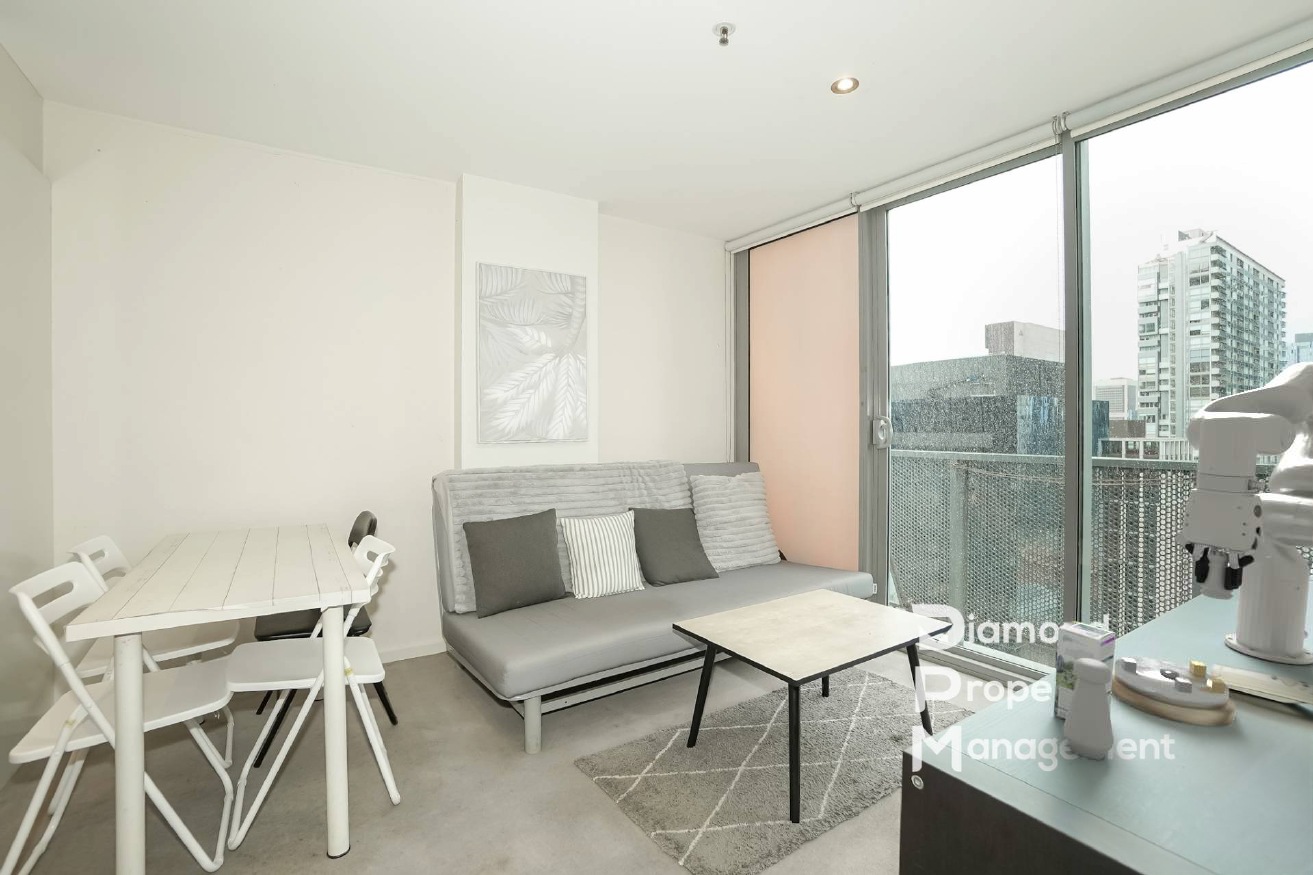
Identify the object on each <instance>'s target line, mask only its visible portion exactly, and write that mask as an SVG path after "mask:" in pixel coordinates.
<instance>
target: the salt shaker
mask: <svg viewBox="0 0 1313 875" xmlns="http://www.w3.org/2000/svg"><path fill="white" fill-rule="evenodd" d="M1074 674H1075V675H1076V676H1077V677H1078V678H1077V682H1076V685H1075V689H1074V692H1073V696H1072V699H1071V703H1070V706H1069V710H1068V713H1067V717H1066V720H1064V725H1063V729H1062V730H1063V734H1064V737H1065V738H1066V742H1068V745H1069V747H1070V749H1071V751H1072V753H1075V754H1077V755H1079V756H1081V757H1083V758H1085V759H1091V760H1100V761H1101V760H1102V759H1103V758H1104V757H1105V756H1106V755H1107V754H1108V753H1109V752H1110V751H1111V750H1112V748H1113V747H1114V734H1113V733H1114V732H1113V729H1112V720H1111V712H1110V713H1109V706H1108V699H1107V692H1106V686H1105V684H1106V683H1109V682H1110V679H1111V670H1110V668H1109V667H1108V666H1107V665H1106V664H1105V663H1103V662H1101V661H1098V660H1094V659H1090V658H1080V659H1077V660H1075V662H1074Z"/></svg>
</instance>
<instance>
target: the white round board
mask: <svg viewBox="0 0 1313 875" xmlns="http://www.w3.org/2000/svg"><path fill="white" fill-rule="evenodd" d="M1113 669H1114V677H1115V678H1116V680H1117V681H1118V682H1119V683H1121V684H1122V685H1123V686H1125V687H1127V688H1128V689H1130V690H1132V691H1134V692H1136V693H1138V694H1141V695H1143V696H1146V697H1148V698H1151V699H1154V700H1157V701H1160V702H1164V703H1168V704H1171V705H1176V706H1180V707H1186V708H1192V709H1201V710H1216V709H1222V708H1224V707H1226V706H1227V705H1228V698H1230V697H1229V696H1230V689H1229V687H1228V685H1227V684H1226V683H1225V682H1224V680H1222V679H1220V678H1218V677H1217V678H1216V677H1215V676H1213V675H1211V674H1209V673H1207V666H1206V664H1204V662H1201V661H1193V660H1190V662H1189V666H1188V665H1184V664H1181V663H1178V662H1177V663H1176V662H1173V661H1169V660H1164V659H1159V658H1154V657H1153V658H1152V657H1145V656H1144V657H1142V656H1126V657H1123V656H1122V657H1121V658H1118V659H1116V660H1115V661H1114V668H1113Z"/></svg>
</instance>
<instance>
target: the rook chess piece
mask: <svg viewBox="0 0 1313 875" xmlns="http://www.w3.org/2000/svg"><path fill="white" fill-rule="evenodd" d="M1207 557H1208V558H1209V560H1210V563H1209V564H1208V565H1209V572H1208V576H1207V578H1206V580H1204V581H1205V582H1204V583H1200V584H1201V585H1200V587H1201V588H1202V589H1200V590H1199V592H1200V594H1201V595H1203V596H1205V597H1208V598H1212V599H1217V600H1225V601H1226V600H1231V599H1232V598H1233V597H1234V595H1233V594H1232V593H1233V592H1234V590H1226V589H1225V588H1224V583H1225V570H1226V568H1227V567H1229V565H1228V564H1229V563H1230V561H1229V552H1226V551H1225V552H1224V551H1222V550H1219V551H1218V552H1217V550H1210V554H1209V555H1207Z"/></svg>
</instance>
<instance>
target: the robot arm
mask: <svg viewBox="0 0 1313 875" xmlns="http://www.w3.org/2000/svg"><path fill="white" fill-rule="evenodd" d="M1186 438H1187V441H1188V443H1189V444H1190V445H1191V446H1192V447H1193V448H1195V449H1197V450H1198V456H1197V457H1198V458H1197V470H1196V471H1197V472H1196V473H1197V474H1196V487H1195V488H1192V489H1191V491H1190V493H1189V496H1188V499H1187V503H1186V507H1185V511H1184V516H1183V524H1182V529H1180V531H1179V532H1178V533H1177V534H1176V536H1174V541H1175V542H1177V543H1178V544H1179V545H1180V546H1182V547H1184V549H1185V550H1186V551H1187V552H1188V553H1189V554H1190V555H1191V558H1192V560H1194V561H1195V563H1194V564H1195V565H1194V577H1196V578H1195V582H1196V583H1197V584H1198V583H1199V584H1202V583H1204V582H1205V581H1204V580H1206V578H1207V576H1208V572H1209V565H1208V564H1209V563H1210V560H1209V558H1208V557H1207V555H1209V554H1210V551H1212V550H1211V549H1212V548H1215V549H1217V548H1218V549H1221V550H1222V549H1223V550H1227V551H1228V554H1229V563H1228V564H1229V565H1228V566H1229V567H1227V568H1226V570H1225V583H1224V588H1225V589H1226V590H1233V591H1234V590H1238V598H1237V599H1238V601H1237V612H1236V625H1235V633H1230V634H1229V633H1228V634H1227V635H1225V636H1224V640H1223V641H1224V643H1225V645H1227V646H1228V647H1229V648H1231V649H1233V650H1236V651H1238V652H1240V653H1241V654H1242V653H1243V654H1245V655H1248V656H1252V657H1256V658H1258V659H1262V660H1267V661H1271V662H1275V663H1282V664H1289V665H1298V666H1299V665H1310V664H1313V653H1312V651H1310V650H1308V649H1306V648H1304V641H1305V639H1307V638H1308V637H1309V633H1308V631H1306V620H1307V610H1308V600H1309V598H1308V597H1309V588H1310V587H1309V586H1310V579H1311V569H1310V567H1309V565H1308V564H1309V563H1308V562H1307V561H1306V559H1305V558H1304V557H1303V555H1302V554H1301V553H1300V552H1299V550H1298V549H1297V548H1296V547H1300V548H1301V547H1302V548H1308V549H1312V550H1313V361H1306V362H1300V363H1296V364H1293V365H1291V366H1289V367H1287V368H1286V369H1284V370H1283V371H1282V372H1280V373H1279V374H1278V375H1277V376H1276V377H1274V378H1273V379H1272V380H1271V381H1269V382H1268V383H1267V384H1265V385H1264V386H1263V387H1259V388H1255V389H1250V390H1247V391H1244V392H1240V393H1236V394H1232V395H1228V396H1224V397H1221V398H1218V399H1215V400H1213V401H1211V402H1210V403H1208V404H1206V405H1205V406H1203V407H1202V408H1201V409H1200V410H1198V411H1197V412H1196V413H1195V414H1194V416H1192V417H1191V419H1190V421H1189V422H1188V425H1187V428H1186ZM1278 455H1281V456H1280V458H1279V460H1278V461H1277V463H1276V465H1275V467H1274V468H1273V470H1272V471H1271V474H1270V477H1269V480H1268V483H1267V484H1268V489H1269V493H1257V494H1255V493H1256V491H1258V490H1261V491H1264V489H1265V486H1266V484H1265V482H1263V481H1259V480H1257V478H1258V477H1257V476H1256V469H1257V457H1258V456H1265V457H1266V456H1268V457H1269V456H1278Z"/></svg>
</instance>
